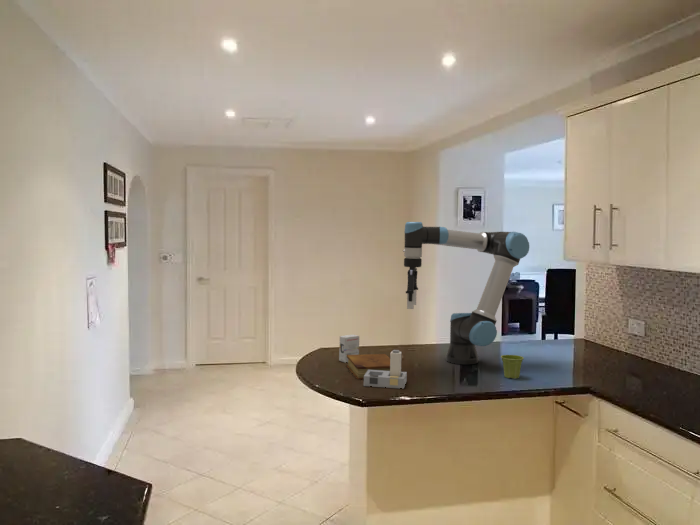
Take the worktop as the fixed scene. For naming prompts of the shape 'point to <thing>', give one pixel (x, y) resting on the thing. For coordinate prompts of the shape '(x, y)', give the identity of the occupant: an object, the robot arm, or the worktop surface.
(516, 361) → the plant pot
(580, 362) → the worktop surface
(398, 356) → the plug
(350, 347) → the ink box
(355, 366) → the diary
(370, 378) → the socket block
